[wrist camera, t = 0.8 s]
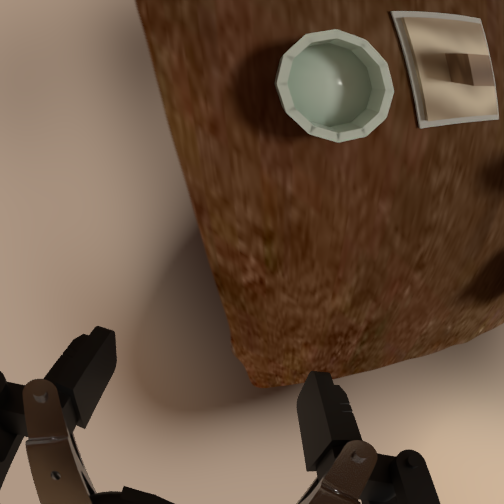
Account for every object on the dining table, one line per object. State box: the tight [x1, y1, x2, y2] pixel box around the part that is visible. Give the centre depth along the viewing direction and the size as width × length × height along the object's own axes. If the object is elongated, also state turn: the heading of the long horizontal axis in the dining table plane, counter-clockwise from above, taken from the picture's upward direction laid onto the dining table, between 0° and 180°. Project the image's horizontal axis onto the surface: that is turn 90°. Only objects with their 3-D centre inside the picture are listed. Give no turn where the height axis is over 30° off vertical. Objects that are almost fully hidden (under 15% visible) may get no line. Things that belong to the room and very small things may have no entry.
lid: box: [401, 17, 498, 121], centre depth 21 cm, size 14×14×6 cm
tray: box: [390, 11, 499, 128], centre depth 24 cm, size 16×16×1 cm
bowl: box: [274, 29, 394, 143], centre depth 26 cm, size 12×12×5 cm
